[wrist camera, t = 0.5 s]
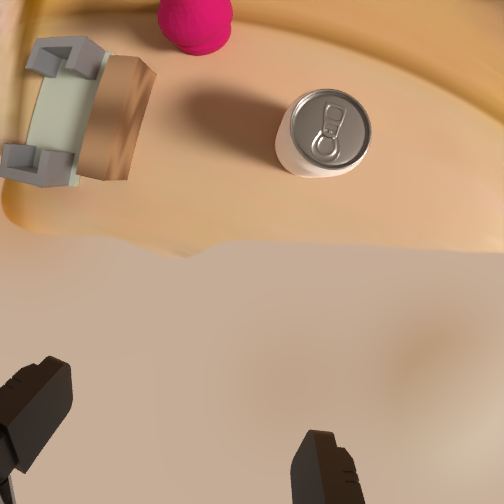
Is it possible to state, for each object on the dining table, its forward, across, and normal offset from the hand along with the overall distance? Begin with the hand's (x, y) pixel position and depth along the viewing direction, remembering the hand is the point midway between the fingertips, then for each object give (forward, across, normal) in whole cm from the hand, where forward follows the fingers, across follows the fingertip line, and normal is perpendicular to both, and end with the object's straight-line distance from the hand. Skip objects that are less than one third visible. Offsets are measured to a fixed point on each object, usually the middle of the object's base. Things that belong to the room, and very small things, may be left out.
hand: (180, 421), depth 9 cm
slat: (+26, +15, -10) cm, 31 cm away
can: (+26, -4, -12) cm, 29 cm away
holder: (+26, +24, -10) cm, 36 cm away
